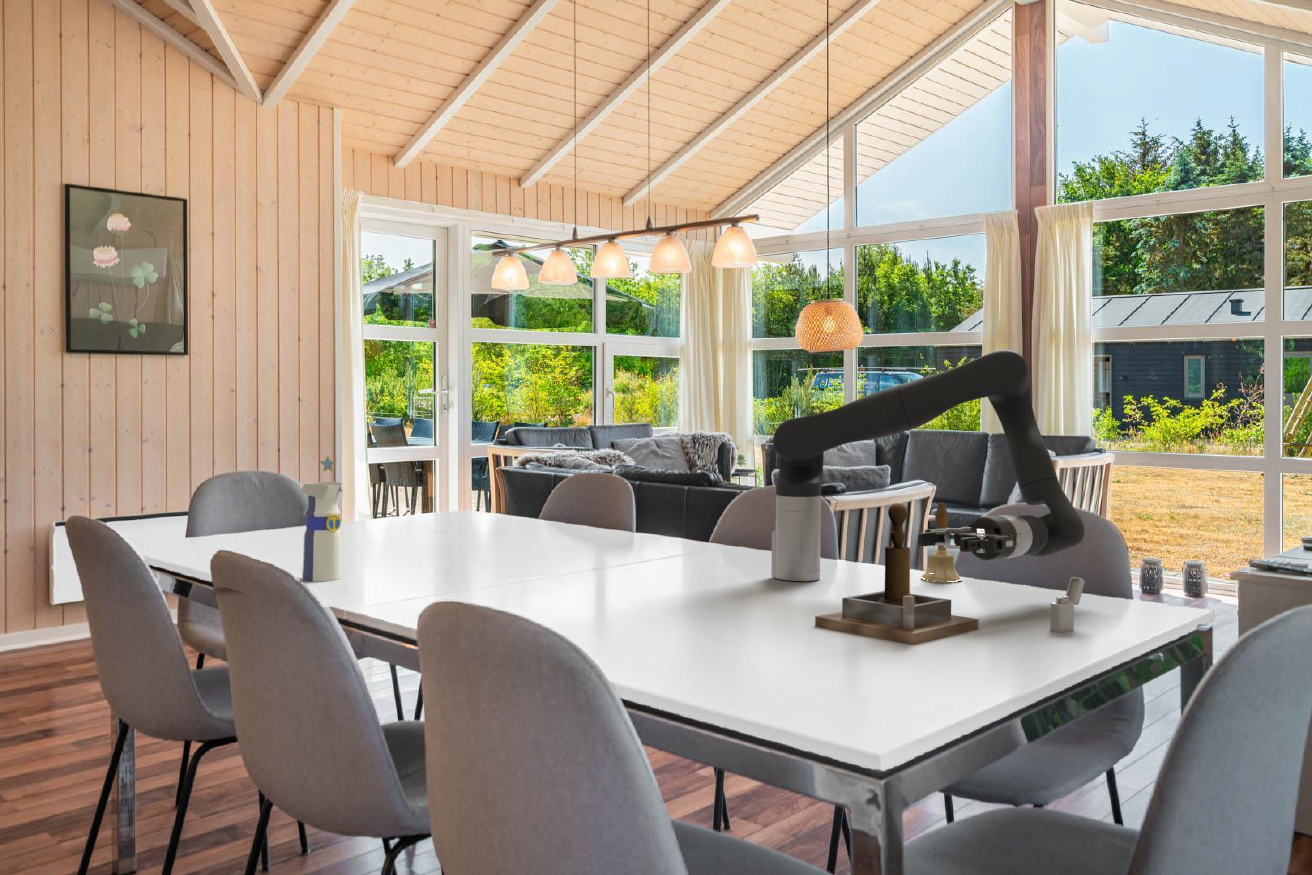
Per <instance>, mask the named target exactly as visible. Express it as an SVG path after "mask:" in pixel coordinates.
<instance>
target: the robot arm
mask: <svg viewBox="0 0 1312 875" xmlns="http://www.w3.org/2000/svg"><path fill="white" fill-rule="evenodd" d="M1030 375H1031V374H1030V372H1029V365H1028V363H1027V361H1026V358H1024V356H1022V354H1020V353H1019V352H1016V351H1014V350H1011V349H999V350H995V351H992V352H988V353H986V354H984V355H982V356H980V357H977V358H975V359H972V360H970V361H968V362H965V363H964V364H961V365H958V366H956V367H953V368H950V369H948V370H945V371H941V372H938V373H934V374H931V375H928V376H924V377H921V378H918V379H915V380H912V381H911V380H910V381H908V382H907V381H906V382H904V383H900V384H897V385H894V386H890V387H887V388H884V389H880V390H879V391H876V392H872V393H870V394H868V395H865V396H862V397H860V398H858V399H855V400H853V401H851V402H849V403H846V404H844V405H842V406H839V407H837V408H834V409H831V410H828V411H823V412H819V413H814V414H810V415H804V416H799V417H792V418H788V419H786V420H784V421H782V423H780V424H779V425H778V427H777V428H776V430H775V432H774V434H773V437H772V446H773V449H774V450H775V452H776V454H777V455H778V456H779V462H778V463H779V464H778V465H779V466H778V467H779V468H778V476H777V480H776V483H775V530H773V531H772V532H771V575H770V576H771V577H772V578H775V579H777V580H781V581H782V580H783V581H789V582H812V581H818V580H820V579H821V536H822V535H821V532H822V531H821V526H822V525H821V519H822V515H821V513H822V509H821V508H822V500H821V499H822V496H821V495H822V484H823V478H824V453H825V452H826V451H829V450H831V449H834V448H837V447H839V446H842V445H846V444H850V443H852V444H853V443H856V442H863V441H869V440H874V439H875V440H876V439H881V438H884V437H889V436H894V435H897V434H901V433H903V432H907V431H910V430H913V429H916V428H919V427H922V426H923V425H926V424H927V423H930V422H931V421H933V420H935V419H937V418H938V417H940V416H941V415H943V414H945V413H946V412H948V411H949V410H951V409H953V408H955V407H957V406H960V405H963V404H965V403H968V402H972V401H975V400H979V399H983V398H987V399H988V401H989V402H990V404H991V406H992V407H993V410H994V412H995V414H996V415H997V418H998V420H999V422H1000V425H1001V427H1002V430H1003V432H1004V435H1005V439H1006V442H1007V447H1008V452H1009V453H1008V454H1009V457H1010V462H1011V464H1012V468H1013V472H1014V475H1015V479H1016V483H1017V485H1018V488H1019V491H1020V494H1021V497H1022V499H1023V502H1024V503H1025V504H1026V505H1028V506H1041V505H1046V507H1047V508H1048V509H1049V512H1050V513H1047V514H1044V515H1041V516H1040V517H1037V516H1035V515H1029V514H1028V515H1026V514H1025V515H1010V514H1009V515H1007V514H1003V515H1002V514H1001V515H988V516H981V517H980V516H979V517H976V519H974V520H973V521H971V523H970V524H969V525H968V526H961V527H960V528H959V527H957V528H956V527H955V528H954V527H953V528H952V527H947V528H945V529H937V528H936V529H935V528H933V529H931V528H927V529H924V532H920V533H918V534H917V545H918V546H919V547H936V546H937V547H938V546H944V547H945V548H946V550H947V549H948V550H960V552H962V553H963V552H964V553H971V554H972V555H973V556H974V557H976V558H978V559H979V560H982V561H995V560H996V561H997V560H1003V559H1005V560H1006V559H1013V558H1016V557H1018V556H1029V555H1030V556H1034V557H1045V556H1049V555H1053V554H1056V553H1059V552H1061V551H1064V550H1067V549H1069V548H1070V549H1071V548H1073V547H1075V546H1077V545H1079V544H1081V543H1082V541H1083V540H1084V537H1085V532H1086V530H1085V523H1084V521H1083V519H1082V517H1081V515H1080V514H1079V513H1078V512H1077V510H1076V509H1075V507H1074V506H1073V504H1072V503H1071V501H1070V500H1069V498H1068V496H1067V495H1066V493H1065V492H1064V490H1063V488H1062V486H1061V485H1060V481H1059V478H1058V475H1057V472H1056V469H1055V466H1054V463H1053V460H1052V458H1051V455H1050V453H1049V449H1048V448H1047V445H1046V443H1045V440H1044V439H1043V436H1042V434H1041V432H1040V429H1039V427H1038V424H1037V420H1036V416H1035V413H1034V408H1033V401H1032V395H1031V393H1032V392H1031V386H1030V384H1031V376H1030ZM951 540H953V543H954V544H951V542H952V541H951Z"/></svg>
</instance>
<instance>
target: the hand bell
mask: <svg viewBox="0 0 1312 875" xmlns="http://www.w3.org/2000/svg"><path fill="white" fill-rule="evenodd" d="M934 520H935V527H936V529H945V528H948V527H949V526H948V524H949V514H948V510H947V507H946V504H945V503H944V502H939V503H938V504H937V508H936V511H935V516H934ZM929 573H934V574H929ZM921 577H923V578H925V580H928V581H935V582H947V581H956V580H959V579H960V578H962V577H961V576H960V575H959V574H958V572H957V571H956V568H955V562H954V555H953V554H952V553H950V552H948V551H947V548H945V547H944V546H937V550H936V551H934V552H932V553H931V554H930V558H929V564H928V567H927V569H926V571H925V572H924V573H923V575H922V576H921Z"/></svg>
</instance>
